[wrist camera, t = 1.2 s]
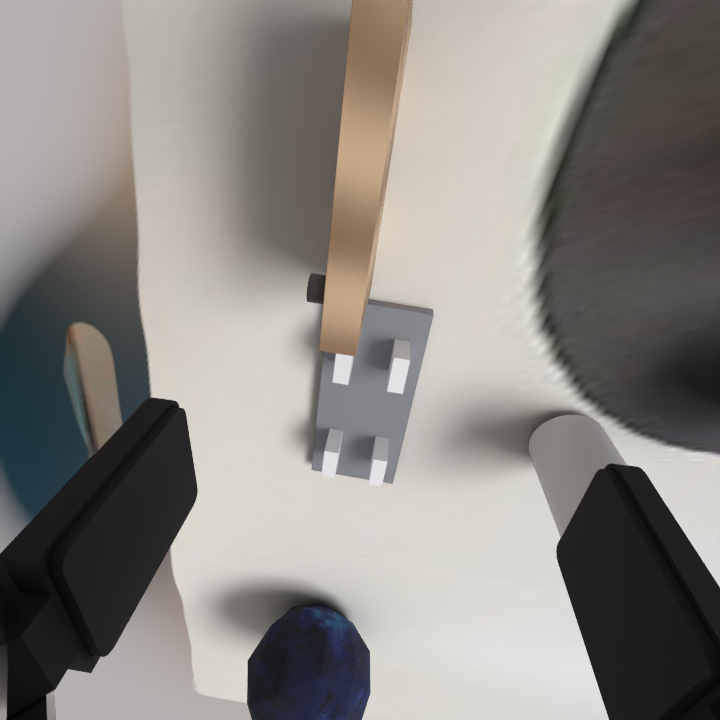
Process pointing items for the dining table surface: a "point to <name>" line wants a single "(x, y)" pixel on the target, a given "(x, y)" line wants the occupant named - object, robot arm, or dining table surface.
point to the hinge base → (370, 395)
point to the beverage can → (569, 461)
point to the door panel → (361, 167)
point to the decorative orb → (309, 668)
